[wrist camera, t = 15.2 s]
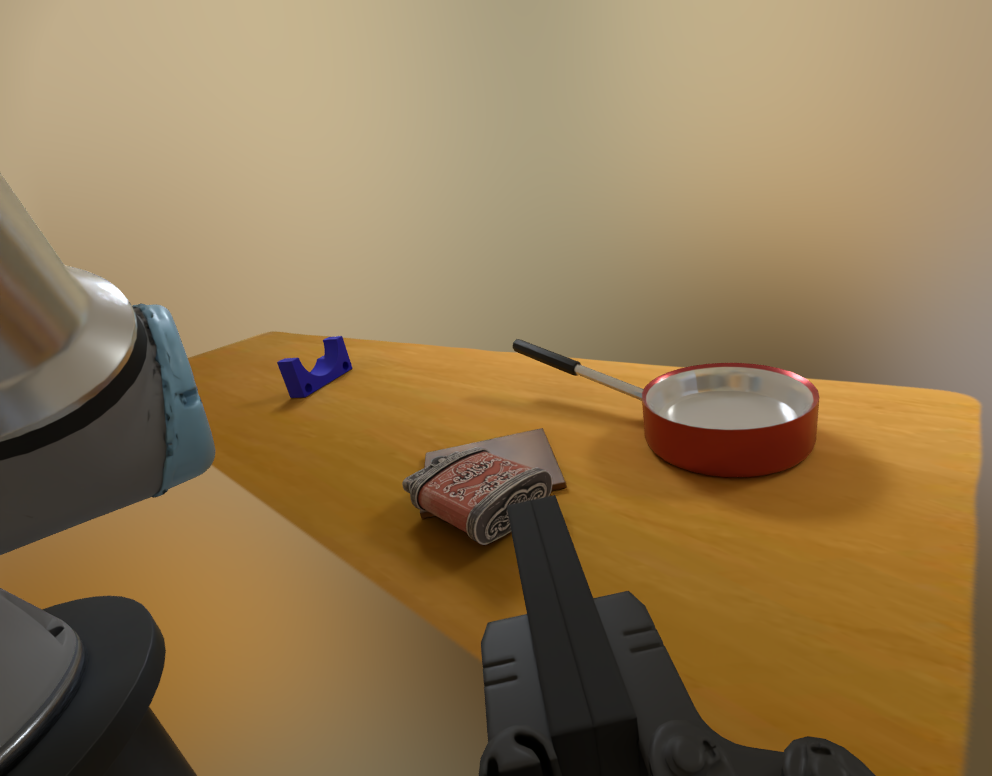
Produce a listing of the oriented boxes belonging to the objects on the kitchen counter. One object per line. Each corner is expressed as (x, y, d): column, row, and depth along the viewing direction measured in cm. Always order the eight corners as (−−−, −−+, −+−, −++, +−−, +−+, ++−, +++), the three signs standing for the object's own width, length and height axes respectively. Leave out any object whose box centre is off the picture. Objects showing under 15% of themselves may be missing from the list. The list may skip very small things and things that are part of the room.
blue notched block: (332, 369, 84) (321, 337, 82) (352, 368, 82) (342, 336, 80) (283, 397, 74) (269, 362, 72) (304, 397, 72) (291, 361, 70)
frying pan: (473, 416, 54) (461, 365, 52) (543, 374, 62) (536, 329, 60) (786, 501, 32) (791, 418, 29) (833, 419, 40) (839, 348, 37)
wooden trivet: (421, 519, 38) (419, 513, 37) (427, 457, 47) (425, 452, 47) (566, 488, 38) (565, 481, 38) (543, 433, 47) (542, 428, 47)
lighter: (554, 499, 36) (470, 465, 43) (550, 461, 35) (464, 432, 42) (478, 556, 31) (397, 507, 38) (471, 513, 30) (388, 471, 37)
